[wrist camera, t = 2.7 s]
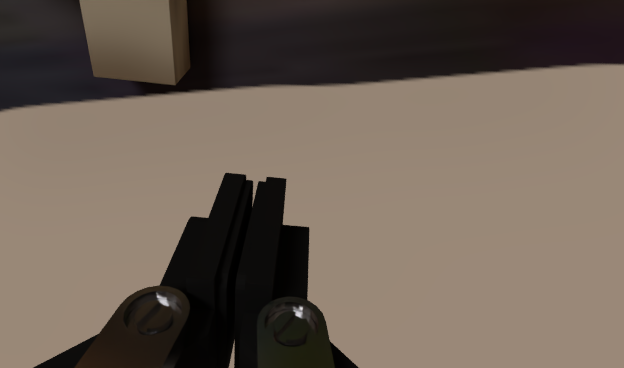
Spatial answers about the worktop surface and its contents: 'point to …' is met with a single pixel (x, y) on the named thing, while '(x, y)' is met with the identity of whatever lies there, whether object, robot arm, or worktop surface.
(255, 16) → the worktop surface
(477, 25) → the worktop surface
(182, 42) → the pivot link
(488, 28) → the worktop surface
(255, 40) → the worktop surface
